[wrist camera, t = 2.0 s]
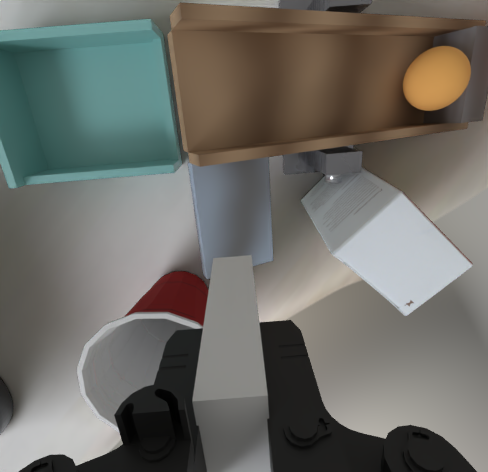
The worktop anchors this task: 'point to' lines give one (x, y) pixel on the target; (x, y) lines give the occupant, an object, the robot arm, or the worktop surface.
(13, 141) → the tray
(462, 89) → the ball
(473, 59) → the lever
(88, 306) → the worktop surface
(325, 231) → the small box
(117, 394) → the plastic cup
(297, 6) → the stand
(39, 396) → the worktop surface
